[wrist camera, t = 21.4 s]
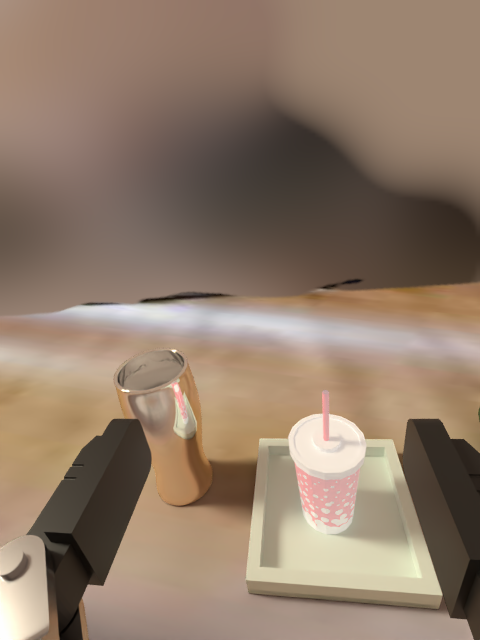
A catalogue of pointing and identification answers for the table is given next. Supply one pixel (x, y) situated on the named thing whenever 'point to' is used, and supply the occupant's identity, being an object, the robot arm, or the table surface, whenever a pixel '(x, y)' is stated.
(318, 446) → the beverage cup
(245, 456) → the table surface
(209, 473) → the metal tumbler
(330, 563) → the tray
